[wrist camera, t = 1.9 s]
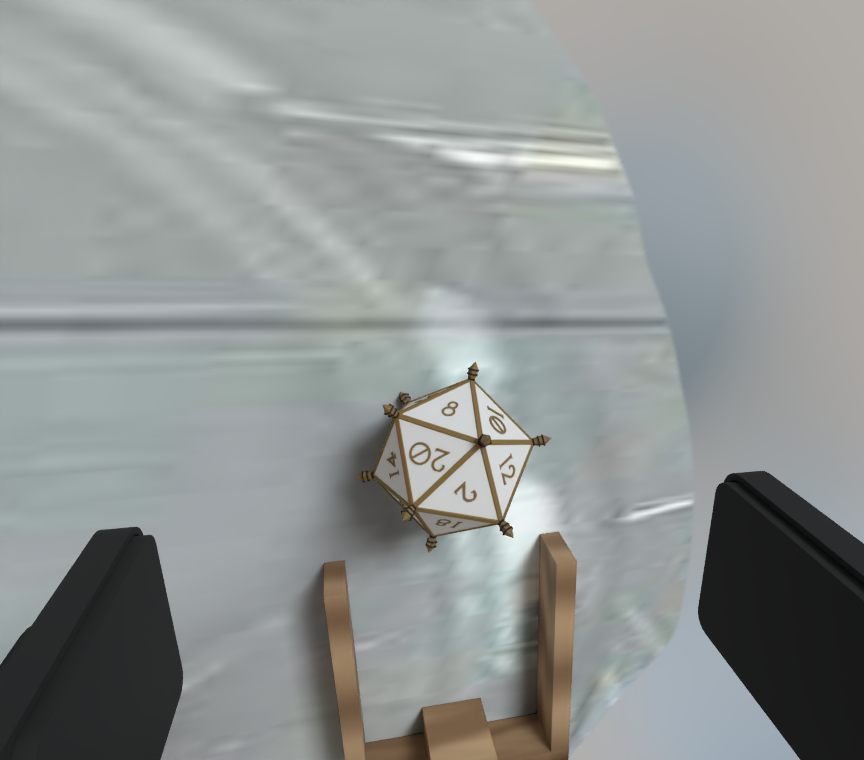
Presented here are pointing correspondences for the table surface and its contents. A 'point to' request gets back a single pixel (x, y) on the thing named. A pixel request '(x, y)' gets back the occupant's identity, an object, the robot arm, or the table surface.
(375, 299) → the table surface
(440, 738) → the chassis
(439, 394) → the game die
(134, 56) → the table surface
